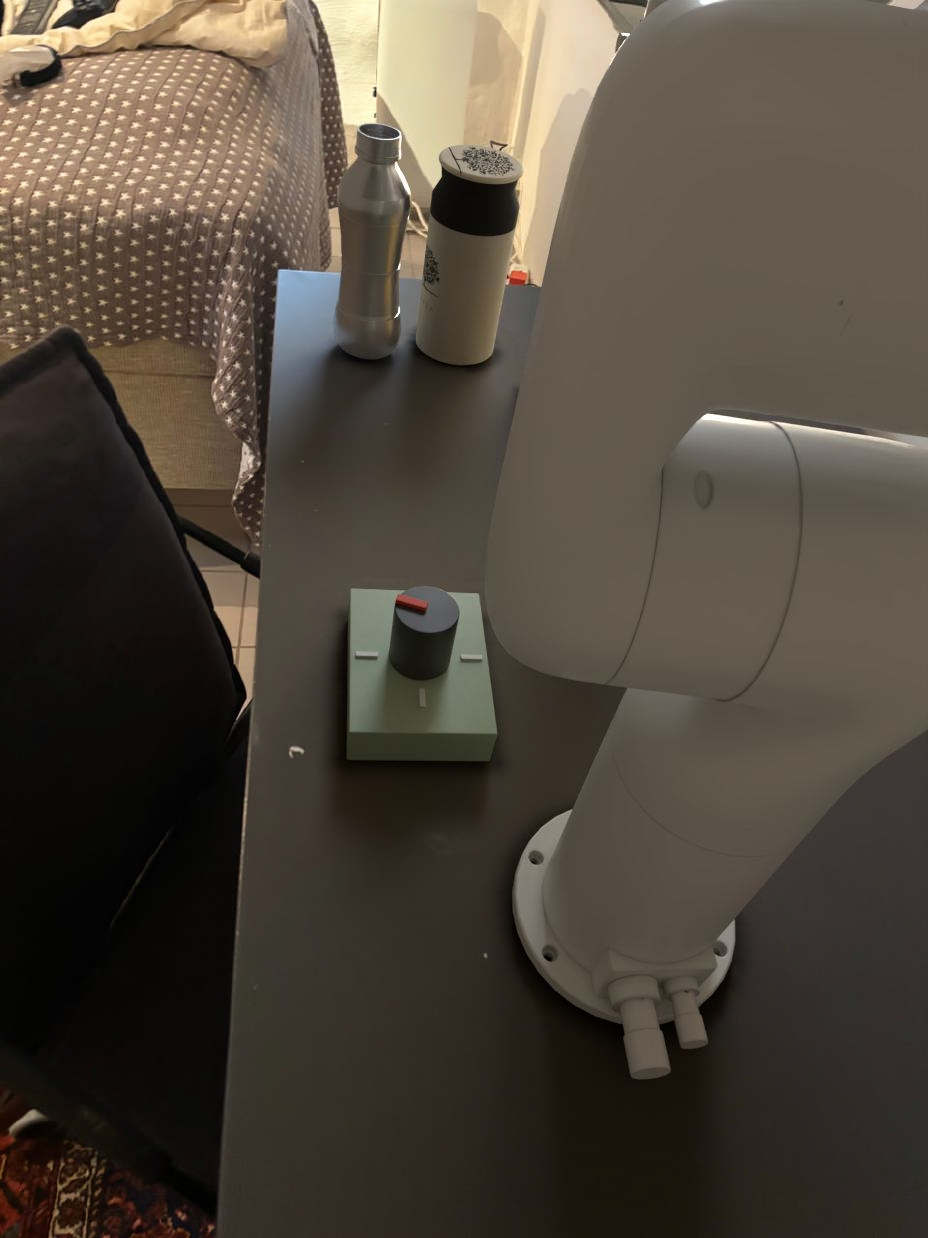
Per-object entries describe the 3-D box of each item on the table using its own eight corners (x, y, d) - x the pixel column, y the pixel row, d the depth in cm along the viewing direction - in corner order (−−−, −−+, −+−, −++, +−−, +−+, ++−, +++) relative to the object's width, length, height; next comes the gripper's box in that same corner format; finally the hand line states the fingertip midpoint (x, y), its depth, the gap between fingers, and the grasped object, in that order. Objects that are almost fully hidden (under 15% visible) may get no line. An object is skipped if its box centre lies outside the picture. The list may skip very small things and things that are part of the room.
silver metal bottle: (374, 375, 83) (391, 153, 69) (317, 348, 85) (322, 126, 71) (412, 350, 88) (435, 135, 73) (357, 325, 89) (369, 110, 75)
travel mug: (489, 330, 92) (521, 149, 79) (495, 371, 87) (531, 184, 74) (414, 322, 91) (434, 137, 78) (416, 364, 86) (438, 172, 73)
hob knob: (457, 643, 58) (467, 592, 54) (440, 688, 55) (450, 637, 52) (399, 626, 58) (406, 574, 55) (380, 670, 55) (386, 618, 52)
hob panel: (489, 761, 55) (498, 732, 53) (346, 760, 54) (348, 730, 52) (472, 621, 63) (479, 591, 61) (347, 617, 62) (349, 586, 60)
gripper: (593, 66, 56) (535, 327, 69) (809, 96, 58) (713, 343, 72) (573, 30, 61) (523, 281, 74) (774, 59, 63) (690, 297, 77)
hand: (616, 311), depth 73 cm, fingers closed
